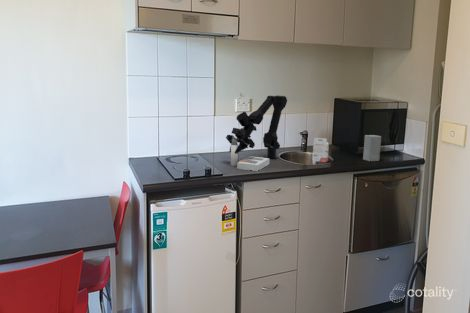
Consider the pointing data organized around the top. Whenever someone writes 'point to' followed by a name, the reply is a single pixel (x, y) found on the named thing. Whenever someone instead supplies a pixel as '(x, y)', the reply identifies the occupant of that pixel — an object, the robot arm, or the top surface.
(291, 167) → the top surface
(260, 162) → the socket block
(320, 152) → the ink cartridge box
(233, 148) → the white bottle
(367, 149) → the skincare box
